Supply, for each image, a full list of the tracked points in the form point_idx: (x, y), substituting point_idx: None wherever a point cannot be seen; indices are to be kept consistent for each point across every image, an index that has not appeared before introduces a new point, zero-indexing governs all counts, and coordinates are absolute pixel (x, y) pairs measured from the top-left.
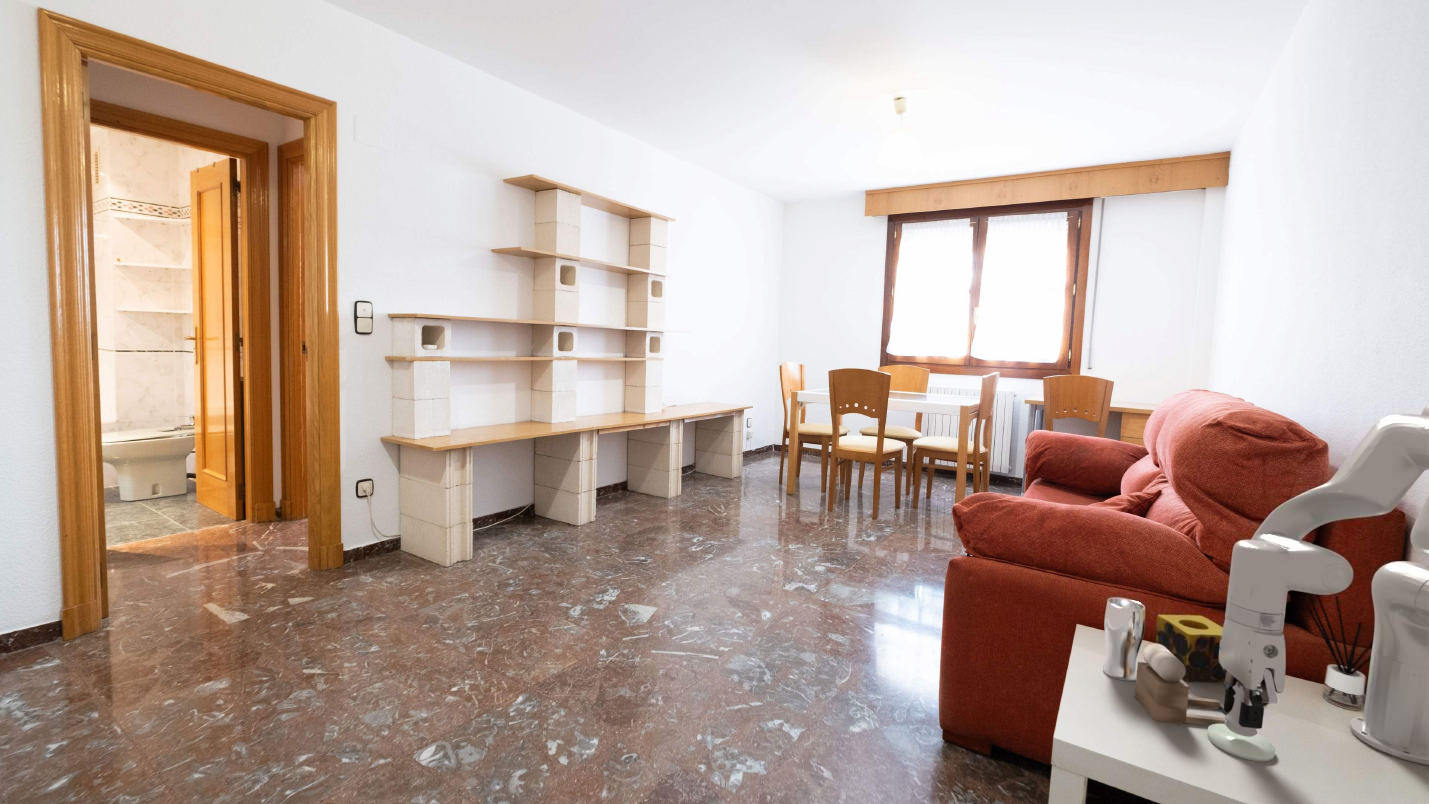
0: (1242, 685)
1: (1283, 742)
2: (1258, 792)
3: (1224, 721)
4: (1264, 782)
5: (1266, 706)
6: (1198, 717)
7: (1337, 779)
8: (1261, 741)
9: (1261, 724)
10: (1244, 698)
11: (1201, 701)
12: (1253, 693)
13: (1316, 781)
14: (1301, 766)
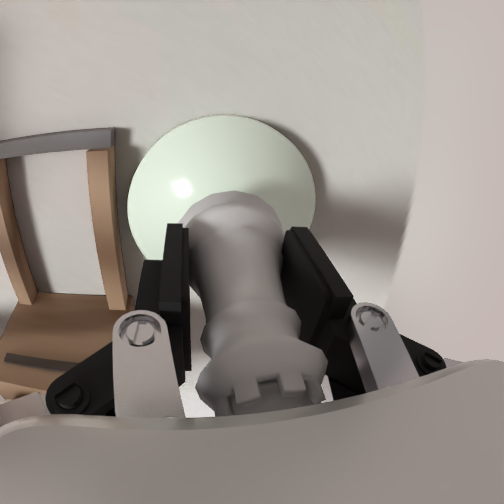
0: (249, 411)
1: (187, 37)
2: (394, 273)
3: (111, 206)
4: (376, 244)
5: (384, 313)
6: (117, 279)
7: (382, 41)
8: (229, 146)
9: (309, 235)
10: (324, 386)
11: (5, 218)
12: (323, 375)
13: (389, 110)
14: (329, 88)
